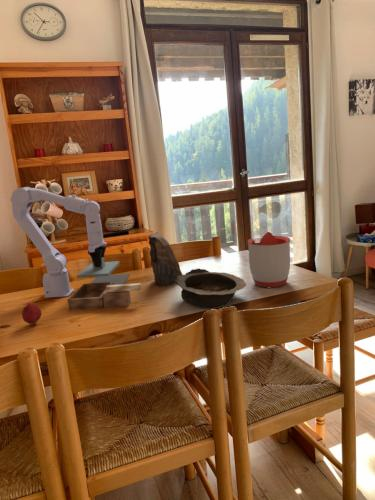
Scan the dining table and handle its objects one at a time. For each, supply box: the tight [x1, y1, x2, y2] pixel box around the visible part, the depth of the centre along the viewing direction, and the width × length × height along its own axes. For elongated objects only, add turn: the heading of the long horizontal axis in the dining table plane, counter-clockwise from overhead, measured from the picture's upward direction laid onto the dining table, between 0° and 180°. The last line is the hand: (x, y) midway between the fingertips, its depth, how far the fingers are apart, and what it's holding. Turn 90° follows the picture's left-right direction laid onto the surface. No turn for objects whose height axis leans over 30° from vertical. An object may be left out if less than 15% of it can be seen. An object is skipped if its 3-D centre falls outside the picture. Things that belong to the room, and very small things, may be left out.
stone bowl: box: [174, 268, 247, 309], centre depth 136 cm, size 25×25×9 cm
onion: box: [21, 300, 42, 325], centre depth 127 cm, size 6×6×8 cm
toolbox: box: [67, 282, 132, 311], centre depth 145 cm, size 21×18×5 cm
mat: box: [90, 273, 131, 285], centre depth 168 cm, size 15×20×1 cm
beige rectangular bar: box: [106, 282, 142, 292], centre depth 138 cm, size 12×2×2 cm, turn 87°
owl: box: [147, 231, 184, 288], centre depth 160 cm, size 13×13×20 cm
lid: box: [76, 256, 120, 279], centre depth 156 cm, size 12×18×5 cm, turn 176°
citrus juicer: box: [247, 231, 291, 288], centre depth 148 cm, size 16×17×20 cm
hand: (99, 265), depth 156 cm, fingers closed on lid, 3 cm apart
